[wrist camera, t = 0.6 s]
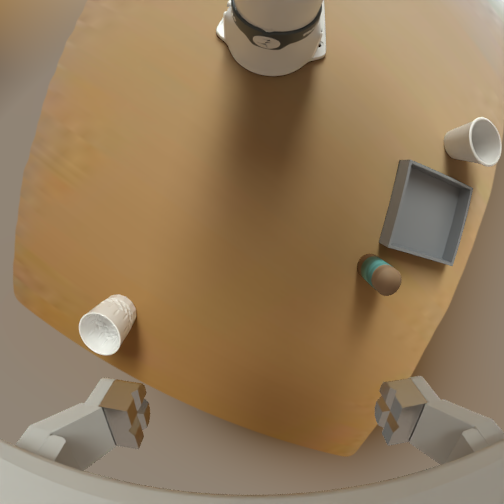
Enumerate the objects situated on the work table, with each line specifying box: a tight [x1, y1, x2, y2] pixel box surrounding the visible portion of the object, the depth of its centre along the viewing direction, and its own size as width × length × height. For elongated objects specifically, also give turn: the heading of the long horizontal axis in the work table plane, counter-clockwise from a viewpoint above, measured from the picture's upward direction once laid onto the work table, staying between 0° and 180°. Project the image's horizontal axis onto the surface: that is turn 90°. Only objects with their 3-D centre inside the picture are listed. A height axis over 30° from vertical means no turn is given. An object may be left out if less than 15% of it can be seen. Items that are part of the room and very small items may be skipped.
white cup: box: [79, 294, 136, 355], centre depth 50 cm, size 8×8×10 cm
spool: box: [357, 254, 401, 296], centre depth 48 cm, size 4×4×9 cm
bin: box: [379, 160, 473, 266], centre depth 49 cm, size 15×15×4 cm
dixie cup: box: [444, 117, 501, 167], centre depth 43 cm, size 8×8×10 cm
